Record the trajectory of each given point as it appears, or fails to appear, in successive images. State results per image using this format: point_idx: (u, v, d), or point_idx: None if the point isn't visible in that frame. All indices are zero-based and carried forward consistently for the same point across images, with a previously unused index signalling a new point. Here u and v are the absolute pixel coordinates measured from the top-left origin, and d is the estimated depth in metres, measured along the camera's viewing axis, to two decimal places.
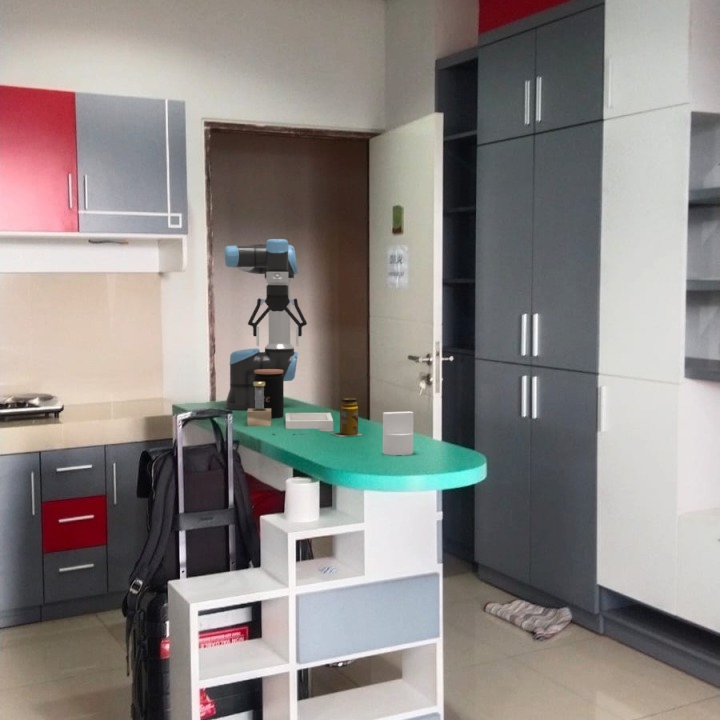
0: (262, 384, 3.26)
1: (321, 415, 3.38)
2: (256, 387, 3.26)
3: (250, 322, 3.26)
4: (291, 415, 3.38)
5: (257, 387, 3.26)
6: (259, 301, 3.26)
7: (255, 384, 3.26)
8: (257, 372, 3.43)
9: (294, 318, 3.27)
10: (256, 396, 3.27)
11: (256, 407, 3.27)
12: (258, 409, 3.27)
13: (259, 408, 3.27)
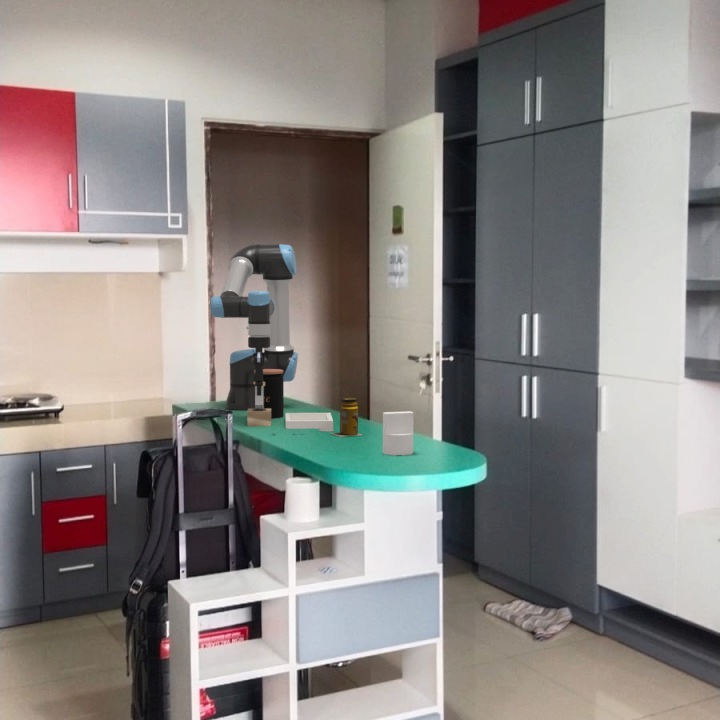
0: None
1: (321, 415, 3.38)
2: None
3: None
4: (291, 415, 3.38)
5: None
6: None
7: None
8: None
9: None
10: None
11: (256, 407, 3.27)
12: (258, 409, 3.27)
13: (259, 408, 3.27)
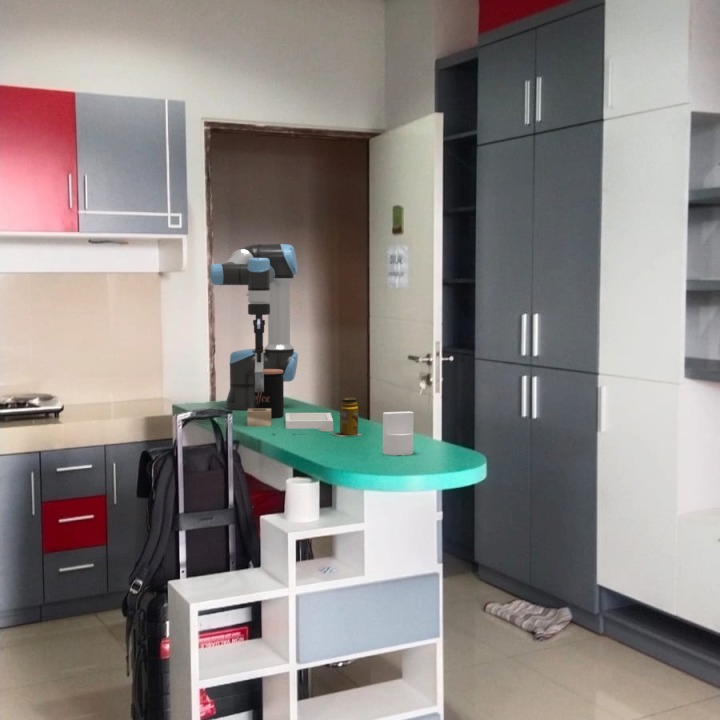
0: None
1: (321, 415, 3.38)
2: None
3: None
4: (291, 415, 3.38)
5: None
6: None
7: None
8: None
9: None
10: None
11: (256, 374, 3.26)
12: (258, 376, 3.26)
13: (259, 375, 3.26)
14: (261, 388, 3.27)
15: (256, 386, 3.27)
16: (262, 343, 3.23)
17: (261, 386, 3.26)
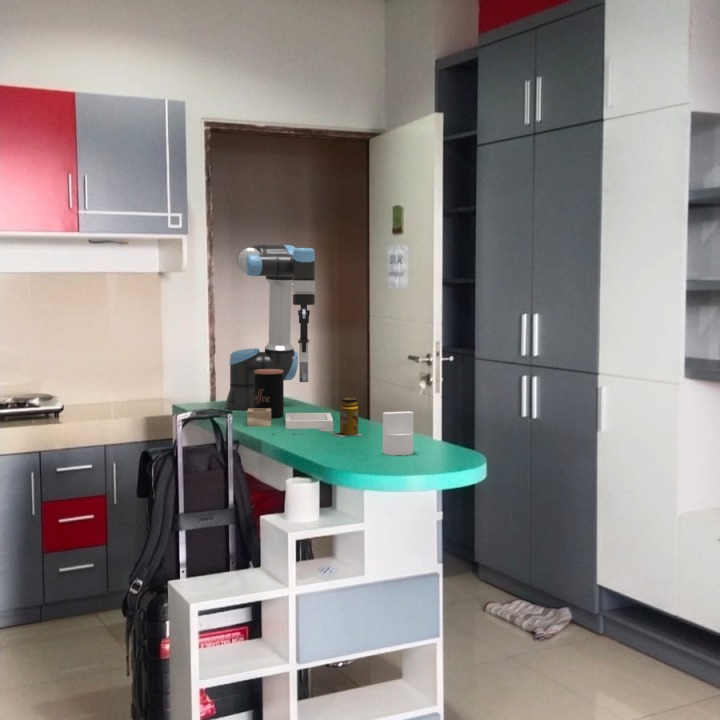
0: None
1: (321, 415, 3.38)
2: None
3: None
4: (291, 415, 3.38)
5: None
6: None
7: None
8: (257, 372, 3.43)
9: None
10: None
11: (301, 364, 3.27)
12: (303, 366, 3.26)
13: (303, 365, 3.26)
14: (306, 378, 3.27)
15: (301, 376, 3.27)
16: None
17: (306, 376, 3.27)
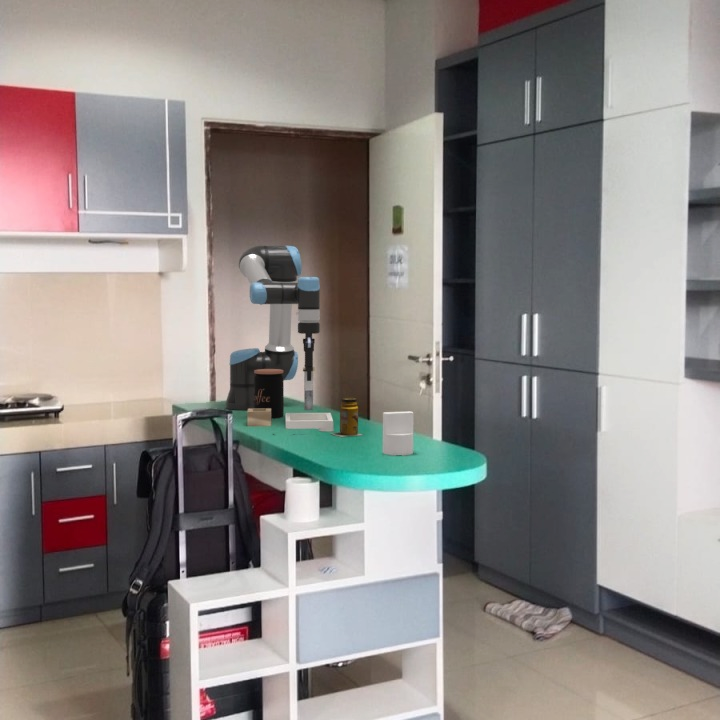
0: None
1: (321, 415, 3.38)
2: None
3: None
4: (291, 415, 3.38)
5: None
6: None
7: None
8: (257, 372, 3.43)
9: (305, 360, 3.25)
10: None
11: (306, 392, 3.28)
12: (308, 394, 3.27)
13: (308, 393, 3.27)
14: (311, 406, 3.28)
15: (306, 404, 3.28)
16: None
17: (311, 404, 3.28)
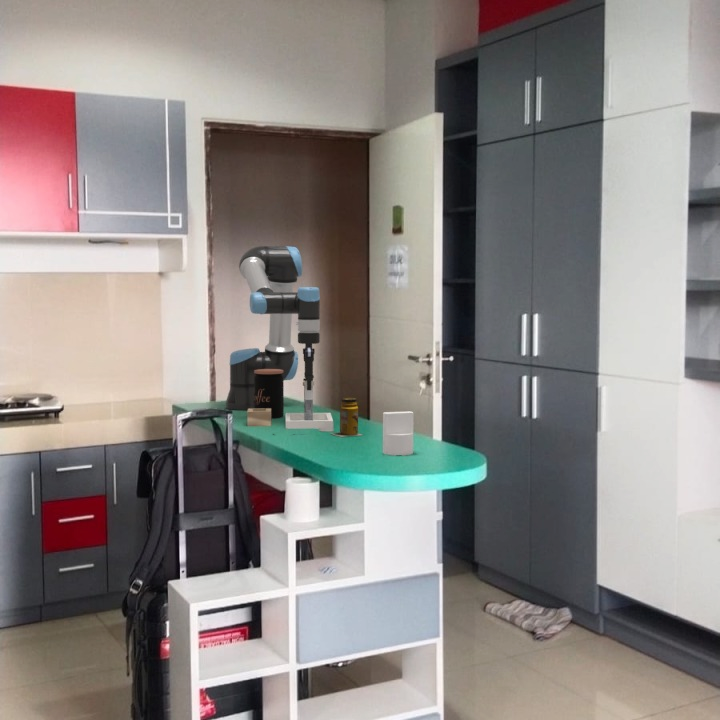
0: None
1: (321, 415, 3.38)
2: None
3: None
4: (291, 415, 3.38)
5: None
6: None
7: None
8: (257, 372, 3.43)
9: (305, 370, 3.24)
10: None
11: (305, 407, 3.28)
12: (307, 409, 3.28)
13: (308, 408, 3.28)
14: None
15: (305, 418, 3.29)
16: None
17: (310, 418, 3.29)
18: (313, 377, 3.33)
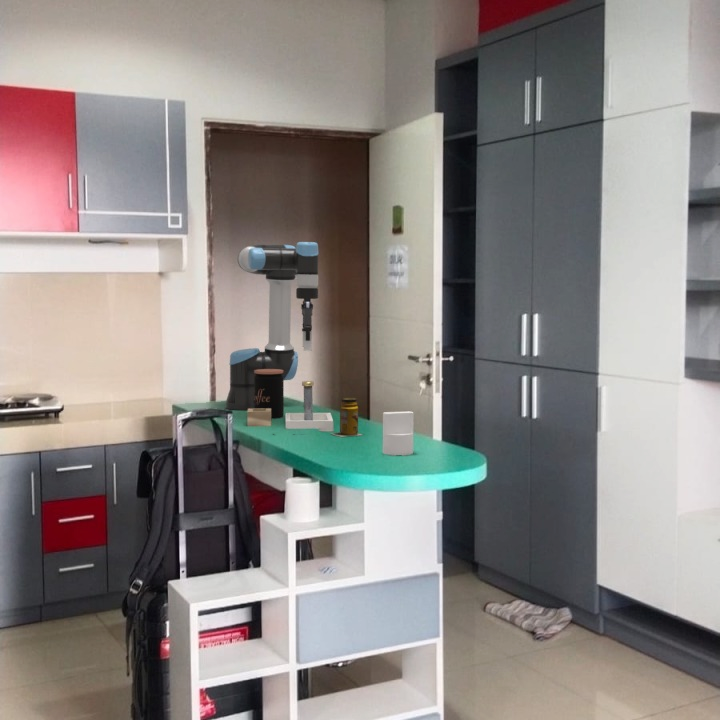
0: (311, 384, 3.27)
1: (321, 415, 3.38)
2: (305, 387, 3.27)
3: None
4: (291, 415, 3.38)
5: (306, 387, 3.27)
6: (303, 303, 3.33)
7: (304, 384, 3.27)
8: (257, 372, 3.43)
9: None
10: (305, 396, 3.28)
11: (305, 407, 3.28)
12: (307, 409, 3.28)
13: (308, 408, 3.28)
14: None
15: (305, 418, 3.29)
16: None
17: (310, 418, 3.29)
18: None
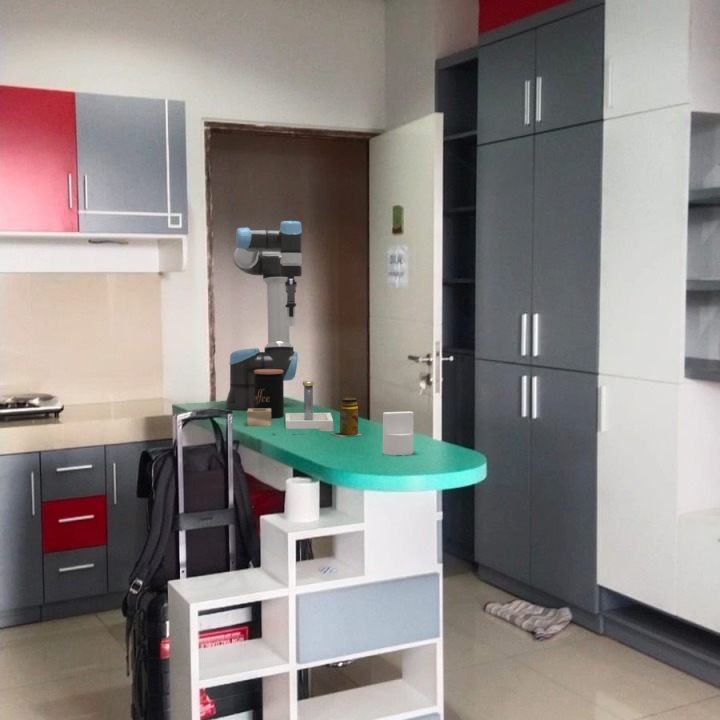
0: (311, 383, 3.28)
1: (321, 415, 3.38)
2: (305, 387, 3.28)
3: None
4: (291, 415, 3.38)
5: (306, 387, 3.28)
6: (287, 281, 3.42)
7: (304, 384, 3.27)
8: (257, 372, 3.43)
9: None
10: (305, 396, 3.28)
11: (305, 406, 3.28)
12: (307, 408, 3.28)
13: (308, 407, 3.28)
14: None
15: (305, 418, 3.29)
16: None
17: (310, 418, 3.29)
18: None
